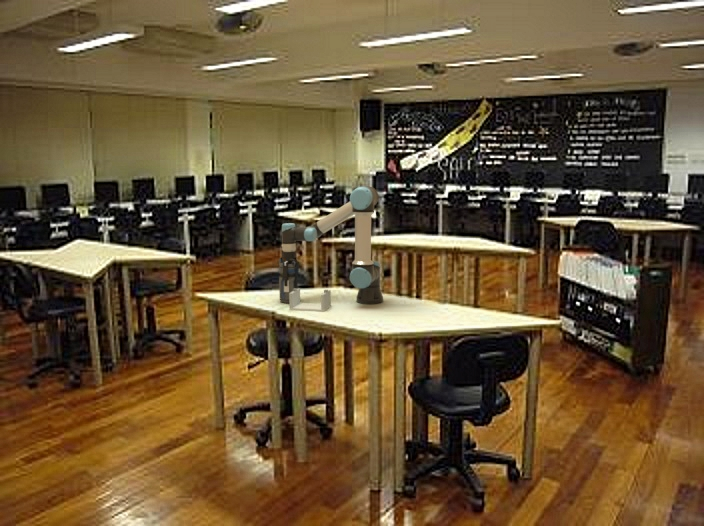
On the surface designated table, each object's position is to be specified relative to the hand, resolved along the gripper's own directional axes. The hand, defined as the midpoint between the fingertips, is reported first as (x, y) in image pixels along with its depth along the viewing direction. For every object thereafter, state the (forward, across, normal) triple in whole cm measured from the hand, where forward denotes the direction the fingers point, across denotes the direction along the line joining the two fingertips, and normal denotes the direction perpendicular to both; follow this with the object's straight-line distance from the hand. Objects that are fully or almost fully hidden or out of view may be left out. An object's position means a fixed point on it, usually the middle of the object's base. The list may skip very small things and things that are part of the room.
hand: (289, 290), depth 351 cm
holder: (+7, +13, +16) cm, 22 cm away
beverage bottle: (+7, 0, 0) cm, 7 cm away
